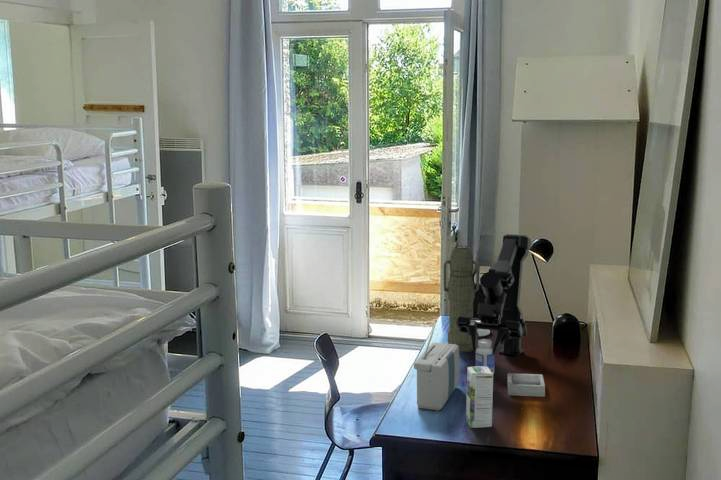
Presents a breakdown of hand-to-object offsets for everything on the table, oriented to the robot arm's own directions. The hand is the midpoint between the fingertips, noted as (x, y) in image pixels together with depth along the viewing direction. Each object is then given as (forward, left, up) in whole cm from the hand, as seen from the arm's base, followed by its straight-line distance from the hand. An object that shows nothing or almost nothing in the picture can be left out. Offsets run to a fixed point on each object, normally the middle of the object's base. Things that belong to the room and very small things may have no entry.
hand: (483, 352), depth 223 cm
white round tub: (-50, -26, -11) cm, 58 cm away
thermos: (-30, -22, -11) cm, 39 cm away
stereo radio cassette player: (+14, -8, -11) cm, 19 cm away
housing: (-5, +11, -11) cm, 16 cm away
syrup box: (+24, +10, -11) cm, 28 cm away
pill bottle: (-1, 0, -7) cm, 7 cm away
